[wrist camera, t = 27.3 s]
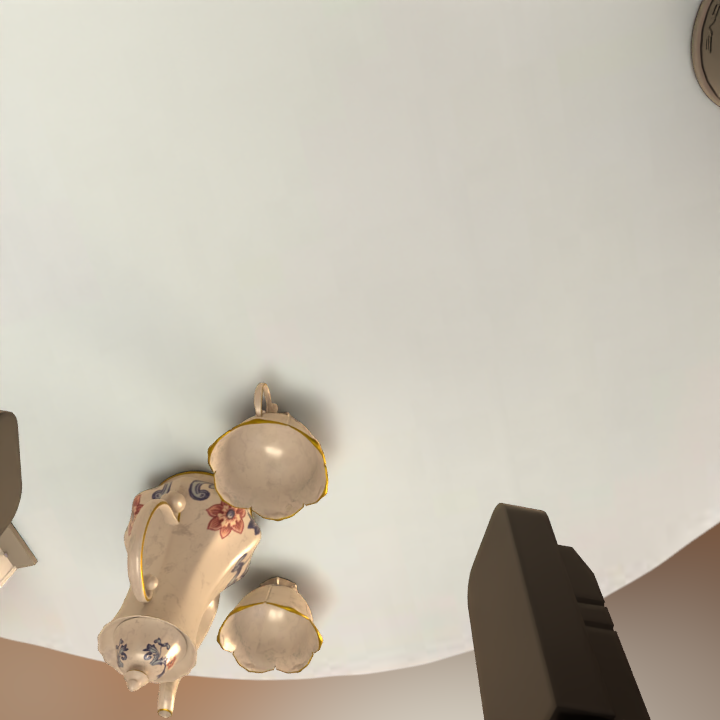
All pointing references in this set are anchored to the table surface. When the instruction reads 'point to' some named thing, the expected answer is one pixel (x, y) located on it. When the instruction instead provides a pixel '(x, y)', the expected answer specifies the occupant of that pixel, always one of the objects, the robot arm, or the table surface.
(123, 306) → the table surface
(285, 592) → the chinaware
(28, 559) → the skyscraper
